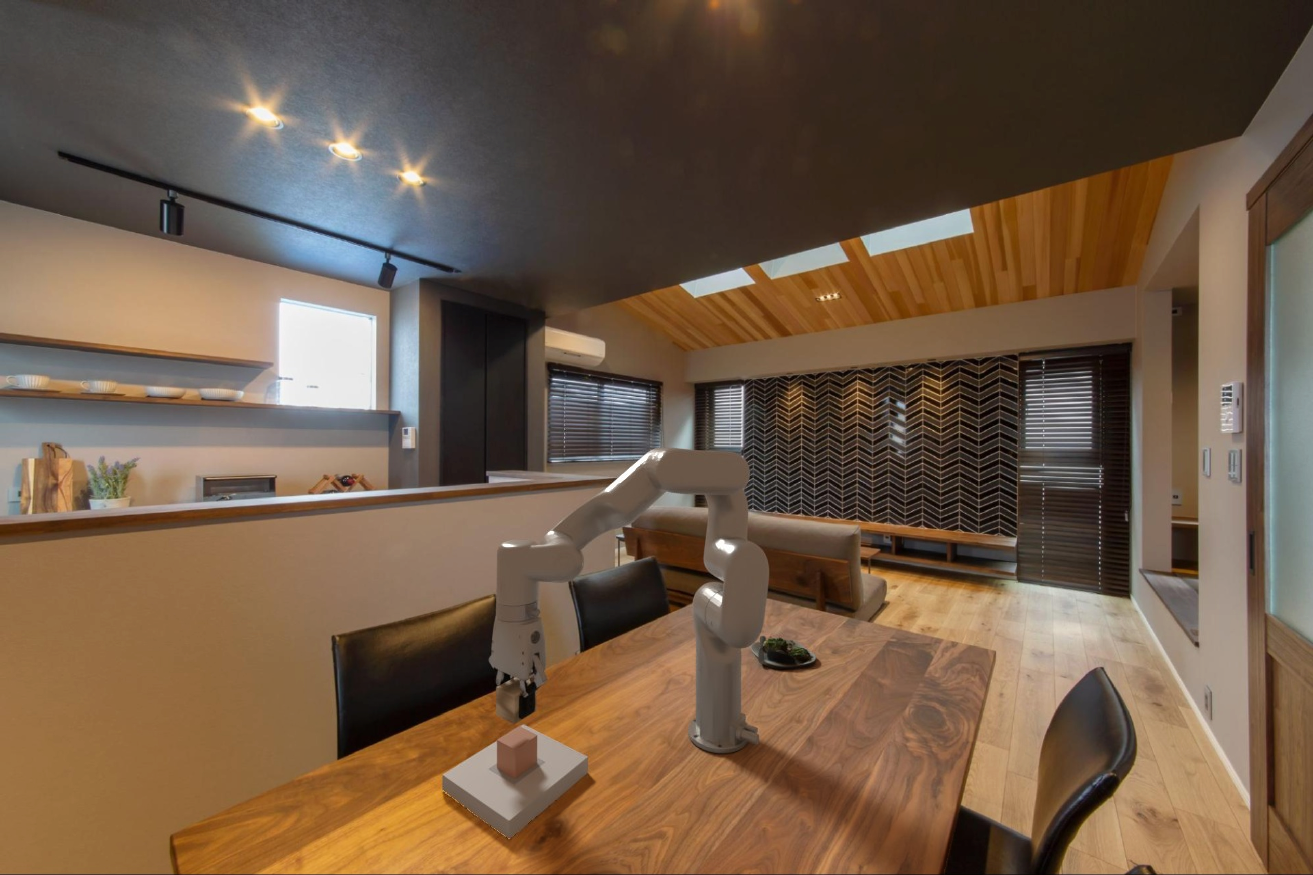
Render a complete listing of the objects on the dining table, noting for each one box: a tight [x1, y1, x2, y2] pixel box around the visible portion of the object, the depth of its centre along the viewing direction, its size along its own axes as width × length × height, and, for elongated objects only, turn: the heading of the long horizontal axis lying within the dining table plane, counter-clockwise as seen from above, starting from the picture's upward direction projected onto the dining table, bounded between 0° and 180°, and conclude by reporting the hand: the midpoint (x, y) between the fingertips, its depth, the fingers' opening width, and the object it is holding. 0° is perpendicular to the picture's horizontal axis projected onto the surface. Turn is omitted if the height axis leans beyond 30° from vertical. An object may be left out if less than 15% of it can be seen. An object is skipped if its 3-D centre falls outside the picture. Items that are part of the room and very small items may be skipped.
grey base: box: [441, 724, 589, 839], centre depth 86 cm, size 18×18×3 cm
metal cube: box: [495, 677, 538, 725], centre depth 86 cm, size 5×5×5 cm
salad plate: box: [750, 635, 817, 671], centre depth 138 cm, size 19×18×5 cm
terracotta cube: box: [496, 725, 537, 779], centre depth 86 cm, size 5×5×5 cm
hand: (516, 708), depth 86 cm, fingers closed on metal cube, 5 cm apart
